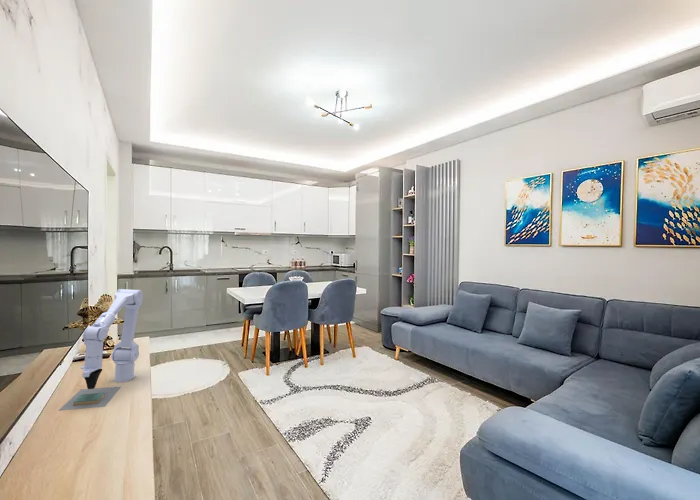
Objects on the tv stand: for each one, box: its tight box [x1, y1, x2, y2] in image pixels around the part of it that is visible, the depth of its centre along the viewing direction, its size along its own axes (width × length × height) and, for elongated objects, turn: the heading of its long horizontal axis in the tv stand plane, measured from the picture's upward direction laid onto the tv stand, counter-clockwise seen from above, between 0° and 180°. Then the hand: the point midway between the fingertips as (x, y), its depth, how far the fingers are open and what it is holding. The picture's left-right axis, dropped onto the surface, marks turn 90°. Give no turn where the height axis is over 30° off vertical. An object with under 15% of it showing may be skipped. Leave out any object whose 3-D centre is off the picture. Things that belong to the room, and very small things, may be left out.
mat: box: [58, 386, 121, 411], centre depth 137 cm, size 20×15×1 cm
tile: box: [73, 393, 104, 406], centre depth 134 cm, size 2×8×7 cm
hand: (91, 388), depth 135 cm, fingers closed
